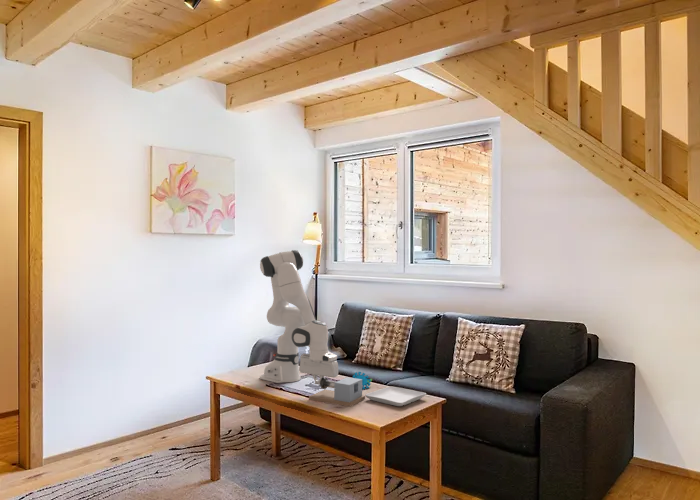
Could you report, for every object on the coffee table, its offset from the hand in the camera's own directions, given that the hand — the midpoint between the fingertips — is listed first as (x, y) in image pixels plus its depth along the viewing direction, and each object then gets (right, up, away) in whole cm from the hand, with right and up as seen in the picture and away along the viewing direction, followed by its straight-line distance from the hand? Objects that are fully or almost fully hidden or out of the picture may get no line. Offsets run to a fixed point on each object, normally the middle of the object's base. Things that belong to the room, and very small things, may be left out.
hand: (318, 384), depth 251 cm
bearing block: (+9, -6, -5) cm, 12 cm away
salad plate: (+36, -7, -5) cm, 37 cm away
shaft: (+8, -2, -4) cm, 9 cm away
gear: (+21, -6, +17) cm, 28 cm away
